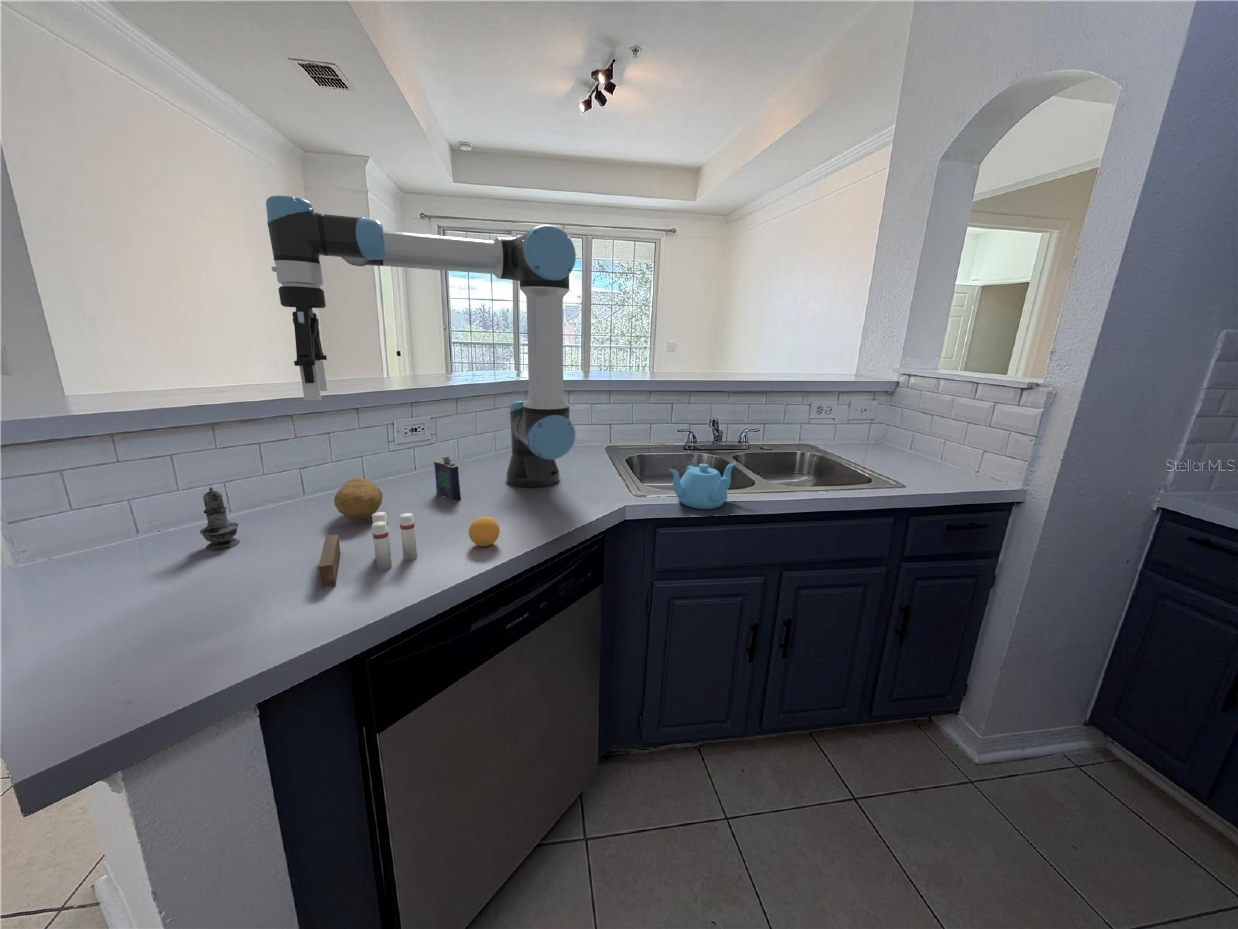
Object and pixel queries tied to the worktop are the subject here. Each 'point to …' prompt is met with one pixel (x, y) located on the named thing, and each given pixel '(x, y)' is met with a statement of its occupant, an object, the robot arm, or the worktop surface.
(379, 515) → the pin
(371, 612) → the worktop surface
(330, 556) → the brown long rectangular block
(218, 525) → the salt shaker
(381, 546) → the pin
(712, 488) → the teapot
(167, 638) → the worktop surface
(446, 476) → the flask
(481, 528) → the ball
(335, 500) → the potato
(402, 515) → the front pin
